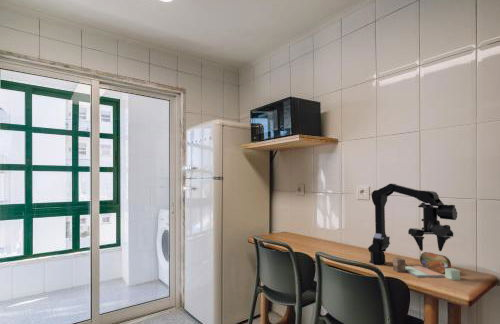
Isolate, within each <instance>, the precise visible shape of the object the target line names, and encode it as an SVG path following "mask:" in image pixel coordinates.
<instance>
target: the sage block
mask: <svg viewBox="0 0 500 324" xmlns="http://www.w3.org/2000/svg"><path fill="white" fill-rule="evenodd" d="M444 276H445V278H446V279H449V280H451V279H452V280H453V281H461V270H459V269H456V268H452V267H451V268H445V273H444ZM452 280H451V281H452Z"/></svg>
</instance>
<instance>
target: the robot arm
mask: <svg viewBox="0 0 500 324" xmlns="http://www.w3.org/2000/svg"><path fill="white" fill-rule="evenodd" d="M393 193H398V194H401V195H405V196H409V197H412V198H415V199H417V200H418V201H420V202H421V203H420V204H418V206H417V207H418V208H422V214H423V215H422V216H423V217H422V218H421V222H423V224H422V225H423V227H421V229H420V228H411V227H410V228H409V229H408V232H407V233H408V235H410V236H411V237H413V239H414V241H415V243H416V244H417V246H418V248H419V251H420V252H424V251H423V250H424V244H423V243H424V242H423V241H424V239H425V236H424V235H435V236H436V240H437V241H436V242H437V248H438V251H439V252H442V250H443V248H444V246H445V243H446V241H448V240H450V239H452V238H453V237H454V232H453V230H452V229H451V226H450V225H449V224H444V225H443V224H441V222H440V220H439V219H441V220H451V221H456V220H457V218H458V211H457V207H456V205H455V204H444V203H443V201H442V200H441V199H440V197H439V194H438V193H437V192H436V191H432V190H423V189H422V190H419V189H414V188H411V187H407V186H404V185H399V184H397V183H389V184H386V185H385V186H382V187H381V188H378V189H375V190H373V191H372V192H371V195H370V196H371V201H372V203H373V205H374V211H375V212H374V214H375V216H374V217H375V218H374V219H375V220H374V221H375V233H374V235H373V237H372V244H370V246H368V248H367V249H368V252H369V253H370V260H369V263H371V264H373V265H379V266H380V265H381V266H382V265H385V266H386V265H387V263H386V254H385V252H386V251H387V249H388V248H389V246H390V245H391V242H390V238H391V237H390V236H388V235H387V234H386V219H385V217H386V214H385V213H386V212H385V209H386V208H385V207H386V204H387V202H388V197H389V196H391V195H392V194H393ZM438 217H439V219H438Z"/></svg>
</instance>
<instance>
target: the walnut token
mask: <svg viewBox="0 0 500 324" xmlns="http://www.w3.org/2000/svg"><path fill="white" fill-rule="evenodd" d="M405 266H406V259H404V258H402V257H392V270H393V272H396V273H406V271H405Z"/></svg>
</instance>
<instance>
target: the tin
mask: <svg viewBox="0 0 500 324" xmlns="http://www.w3.org/2000/svg"><path fill="white" fill-rule="evenodd" d="M419 261H420V262H419V263H420V264H421V266H423V267H425V268H427V269H430V270H432V271H434V272H436V273H439V274H445V268H452V263H451V260H450V259H449V257H447V256H445V255H443V254H438V253H433V252H430V251H429V252H426V251H423V252H422V253H421V254H420V256H419Z"/></svg>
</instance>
